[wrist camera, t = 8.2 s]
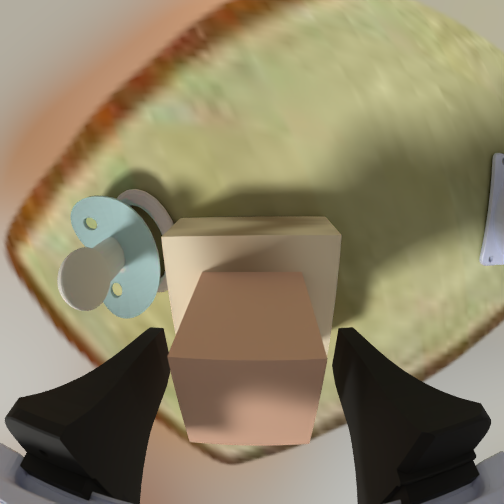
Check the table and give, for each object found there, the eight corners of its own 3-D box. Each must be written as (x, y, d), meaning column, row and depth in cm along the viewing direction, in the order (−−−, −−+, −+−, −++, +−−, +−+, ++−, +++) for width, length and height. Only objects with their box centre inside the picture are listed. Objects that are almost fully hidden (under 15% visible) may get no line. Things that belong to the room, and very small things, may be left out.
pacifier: (162, 170, 16) (78, 201, 16) (115, 185, 10) (15, 229, 10) (199, 287, 18) (117, 303, 19) (179, 351, 12) (77, 361, 13)
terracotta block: (301, 271, 13) (327, 358, 8) (295, 350, 15) (309, 443, 9) (202, 271, 14) (167, 356, 8) (209, 349, 15) (190, 441, 9)
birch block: (325, 216, 16) (341, 235, 13) (315, 336, 19) (324, 372, 16) (180, 218, 16) (161, 236, 13) (193, 337, 19) (183, 371, 16)
